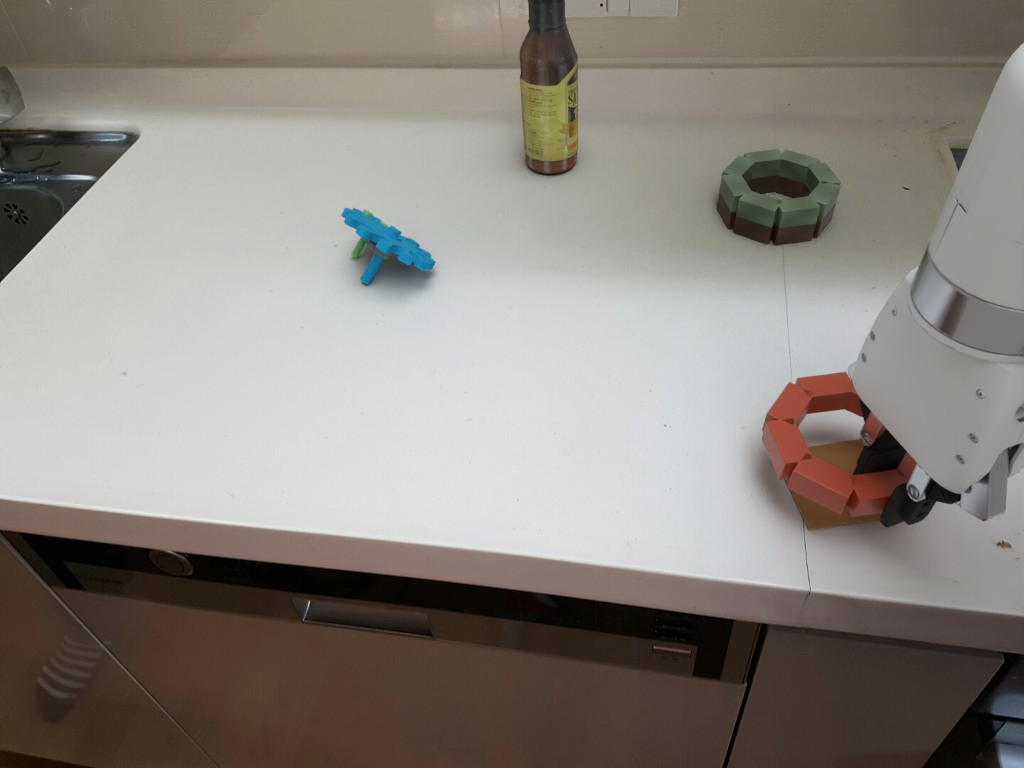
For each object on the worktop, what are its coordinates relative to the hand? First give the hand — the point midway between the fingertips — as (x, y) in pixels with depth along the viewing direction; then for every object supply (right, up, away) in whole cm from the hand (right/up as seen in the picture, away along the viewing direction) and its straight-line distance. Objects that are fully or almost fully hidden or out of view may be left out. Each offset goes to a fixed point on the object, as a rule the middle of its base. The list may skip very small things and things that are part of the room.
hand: (886, 497), depth 53 cm
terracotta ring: (-2, +3, +3) cm, 5 cm away
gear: (-37, +19, +27) cm, 50 cm away
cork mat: (-1, 0, +6) cm, 6 cm away
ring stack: (+2, +26, +29) cm, 39 cm away
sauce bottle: (-21, +33, +39) cm, 55 cm away
